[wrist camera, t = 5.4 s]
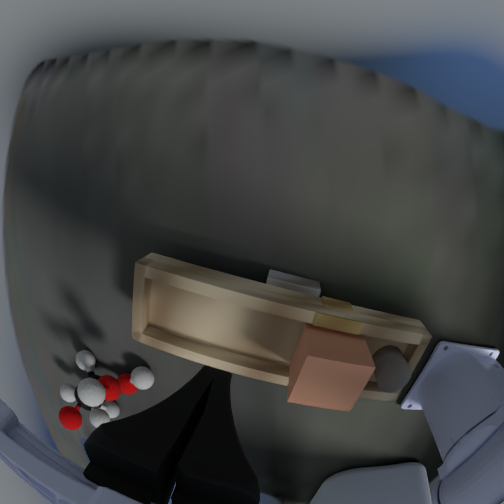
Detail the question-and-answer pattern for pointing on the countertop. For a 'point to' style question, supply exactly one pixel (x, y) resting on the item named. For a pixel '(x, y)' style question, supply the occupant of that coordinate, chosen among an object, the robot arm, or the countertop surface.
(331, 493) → the plastic bottle
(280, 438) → the countertop surface
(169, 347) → the wooden tray
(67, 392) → the molecular model
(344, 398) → the pink cube
